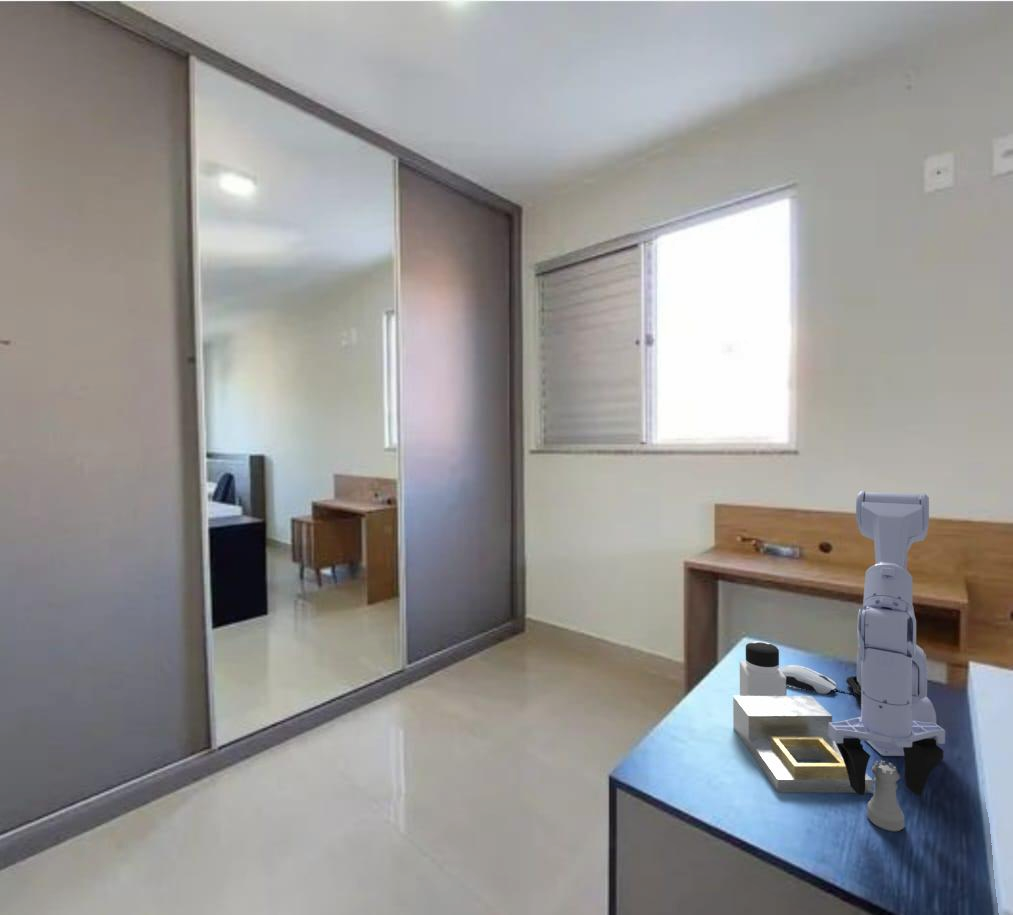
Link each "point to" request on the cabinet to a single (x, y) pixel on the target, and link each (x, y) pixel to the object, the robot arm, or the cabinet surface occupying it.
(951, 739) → the cabinet surface
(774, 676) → the medicine bottle
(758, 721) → the white stepped block
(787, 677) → the computer mouse
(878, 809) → the rook chess piece
